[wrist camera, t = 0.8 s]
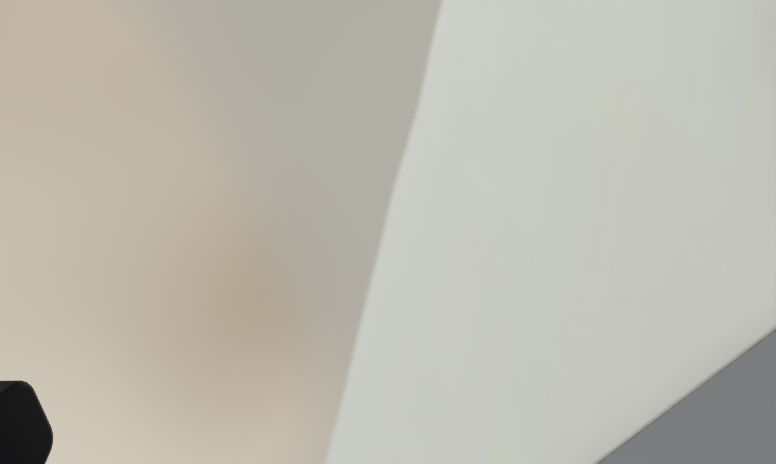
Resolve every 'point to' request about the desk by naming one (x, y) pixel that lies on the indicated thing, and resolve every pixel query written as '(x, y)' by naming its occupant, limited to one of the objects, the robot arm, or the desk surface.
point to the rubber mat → (716, 419)
